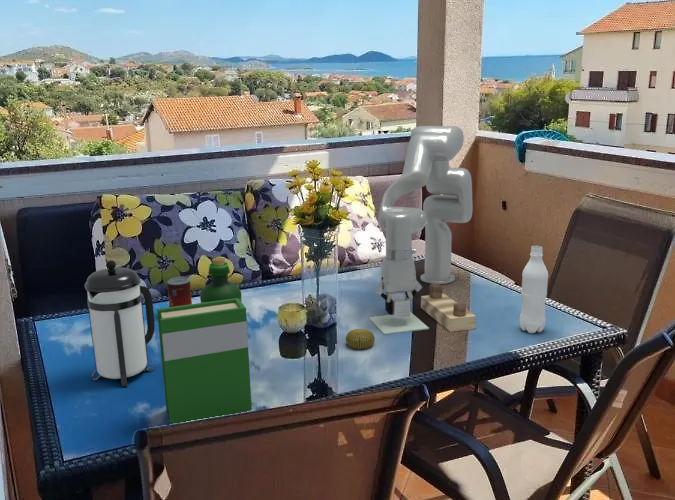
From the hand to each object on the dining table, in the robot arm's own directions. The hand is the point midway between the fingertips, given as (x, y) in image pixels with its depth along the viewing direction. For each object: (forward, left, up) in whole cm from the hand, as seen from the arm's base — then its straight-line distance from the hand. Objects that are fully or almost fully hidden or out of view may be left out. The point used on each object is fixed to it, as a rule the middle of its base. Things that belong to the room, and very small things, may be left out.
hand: (398, 311), depth 188 cm
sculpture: (+12, -16, -4) cm, 20 cm away
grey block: (0, 0, 0) cm, 0 cm away
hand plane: (0, +16, -4) cm, 16 cm away
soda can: (-28, -63, -4) cm, 69 cm away
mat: (0, 0, -4) cm, 4 cm away
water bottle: (+17, +35, -4) cm, 39 cm away
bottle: (+12, -53, -4) cm, 54 cm away
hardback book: (+37, -59, -4) cm, 70 cm away
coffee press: (+11, -78, -4) cm, 79 cm away
